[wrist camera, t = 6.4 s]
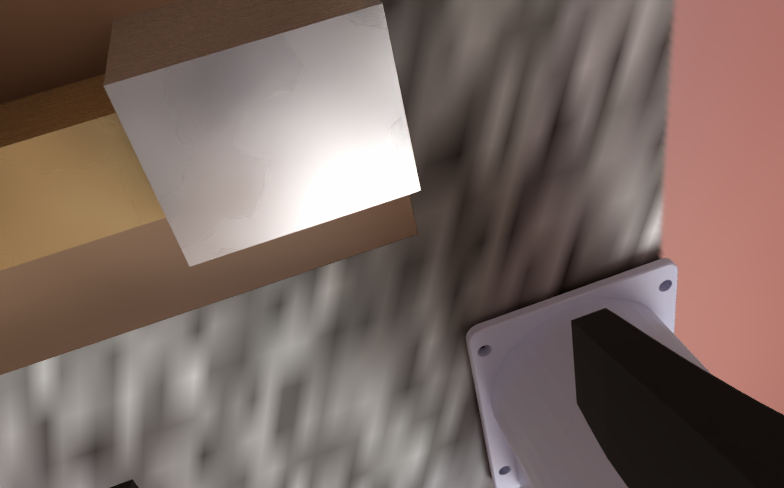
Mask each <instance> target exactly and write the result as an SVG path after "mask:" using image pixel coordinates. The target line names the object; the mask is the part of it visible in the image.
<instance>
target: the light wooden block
mask: <svg viewBox="0 0 784 488" xmlns="http://www.w3.org/2000/svg"><path fill="white" fill-rule="evenodd" d="M104 79H105V74H102V75H99V76H96V77H92V78H89V79H85V80H82V81H79V82H75V83H72V84H68V85H65V86H62V87H58V88H55V89H51V90H48V91H45V92H41V93H38V94H34V95H31V96H28V97H24V98H21V99H17V100H14V101H11V102H7V103H4V104H0V271H1V270H4V269H7V268H10V267H13V266H16V265H20V264H23V263H26V262H29V261H32V260H35V259H38V258H41V257H45V256H48V255H51V254H54V253H57V252H60V251H63V250H66V249H70V248H73V247H76V246H79V245H82V244H85V243H88V242H91V241H94V240H98V239H101V238H104V237H107V236H110V235H113V234H116V233H119V232H123V231H126V230H129V229H132V228H135V227H138V226H141V225H144V224H147V223H151V222H154V221H157V220H160V219H163V218H166V216H165V214H164V212H163V210H162V208H161V206H160V204H159V201H158V199H157V197H156V195H155V193H154V191H153V189H152V187H151V185H150V183H149V180H148V178H147V176H146V174H145V172H144V170H143V168H142V166H141V164H140V162H139V159H138V157H137V155H136V153H135V151H134V149H133V147H132V145H131V143H130V141H129V138H128V136H127V134H126V132H125V130H124V128H123V126H122V124H121V122H120V120H119V117H118V115H117V113H116V111H115V109H114V107H113V105H112V103H111V101H110V99H109V96H108V94H107V92H106V90H105V88H104Z"/></svg>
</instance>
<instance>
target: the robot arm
mask: <svg viewBox="0 0 784 488" xmlns="http://www.w3.org/2000/svg"><path fill="white" fill-rule="evenodd" d="M677 276H678V268H677V266H676V265H675V264H674V263H673V262H672V261H671V260H670V259H668V258H663V259H659V260H656V261H654V262H651V263H648V264H645V265H642V266H639V267H637V268H634V269H631V270H628V271H625V272H623V273H620V274H617V275H614V276H611V277H609V278H606V279H603V280H600V281H597V282H595V283H592V284H589V285H586V286H583V287H581V288H578V289H575V290H572V291H569V292H566V293H564V294H561V295H558V296H555V297H552V298H550V299H547V300H544V301H541V302H538V303H536V304H533V305H530V306H527V307H524V308H522V309H519V310H516V311H513V312H510V313H507V314H505V315H502V316H499V317H496V318H493V319H491V320H488V321H485V322H482V323H479V324H477V325H475V326H473V327H472V328H471V329H470V330H469V331H468V332H467V334H466V343H467V348H468V354H469V359H470V364H471V370H472V375H473V380H474V386H475V391H476V396H477V402H478V407H479V412H480V417H481V423H482V428H483V433H484V439H485V444H486V449H487V455H488V460H489V465H490V471H491V476H492V481H493V484H494V486H495V488H518V487H520V486H521V488H784V415H783V414H781V413H779V412H777V411H775V410H773V409H771V408H769V407H768V406H766V405H764V404H762V403H760V402H758V401H756V400H755V399H753V398H751V397H749V396H748V395H746V394H744V393H742V392H741V391H739V390H737V389H735V388H734V387H732V386H730V385H728V384H727V383H725V382H724V381H722V380H720V379H718V378H717V377H715V376H713V375H712V374H711V373H710V372H709V371H708V370H707V369H706V368H705V367H704V366H703V365H702V364H701V363H700V361H699V360H698V359H697V358H696V357H695V356H694V355H693V354H692V353H691V352H690V351H689V350H688V349H687V348H686V346H685V345H683V343H682V342H681V341H680V340H679V339H678V338H677V337H676V336H675V335H674V326H675V309H676V292H677ZM663 281H664V282H663ZM662 282H663V283H662ZM485 345H486V346H485ZM482 346H485V347H484V348H482V349H480V348H481V347H482ZM110 488H138V486H137V485H136V484H135V482H134V481H133V479H132V480H130V481H127V482H124V483H121V484H119V485H116V486H113V487H110Z"/></svg>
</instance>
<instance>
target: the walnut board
mask: <svg viewBox="0 0 784 488" xmlns="http://www.w3.org/2000/svg"><path fill="white" fill-rule="evenodd" d="M177 1H181V0H0V104H4V103H7V102H11V101H14V100H17V99H21V98H24V97H28V96H31V95H34V94H38V93H41V92H45V91H48V90H51V89H55V88H58V87H62V86H65V85H68V84H72V83H75V82H79V81H82V80H85V79H89V78H92V77H96V76H99V75H102V74H105V72H106V66H107V59H108V52H109V45H110V39H111V32H112V25H113V20H114V19H118V18H121V17H125V16H128V15H132V14H135V13H139V12H142V11H146V10H149V9H153V8H156V7H160V6H163V5H167V4H170V3H174V2H177ZM417 234H418V232H417V227H416V223H415V218H414V213H413V209H412V204H411V200H410V195H406V196H403V197H400V198H397V199H394V200H391V201H388V202H385V203H382V204H379V205H375V206H372V207H369V208H366V209H363V210H360V211H357V212H354V213H351V214H348V215H345V216H342V217H339V218H336V219H333V220H330V221H327V222H324V223H321V224H318V225H315V226H312V227H309V228H306V229H303V230H300V231H297V232H294V233H291V234H288V235H285V236H282V237H278V238H275V239H272V240H269V241H266V242H263V243H260V244H257V245H254V246H251V247H248V248H245V249H242V250H239V251H236V252H233V253H230V254H227V255H224V256H221V257H218V258H215V259H212V260H209V261H206V262H203V263H200V264H197V265H194V266H191V267H189V264H188V262H187V260H186V258H185V256H184V254H183V252H182V250H181V248H180V246H179V243H178V241H177V239H176V237H175V235H174V233H173V231H172V229H171V227H170V225H169V222H168V220H167V218H163V219H160V220H157V221H154V222H151V223H147V224H144V225H141V226H138V227H135V228H132V229H129V230H126V231H123V232H119V233H116V234H113V235H110V236H107V237H104V238H101V239H98V240H94V241H91V242H88V243H85V244H82V245H79V246H76V247H73V248H70V249H66V250H63V251H60V252H57V253H54V254H51V255H48V256H45V257H41V258H38V259H35V260H32V261H29V262H26V263H23V264H20V265H16V266H13V267H10V268H7V269H4V270H1V271H0V375H1V374H4V373H7V372H10V371H13V370H16V369H19V368H22V367H25V366H28V365H31V364H34V363H37V362H40V361H43V360H46V359H49V358H52V357H55V356H58V355H61V354H64V353H67V352H70V351H73V350H76V349H79V348H82V347H85V346H87V345H90V344H93V343H96V342H99V341H102V340H105V339H108V338H111V337H114V336H117V335H120V334H123V333H126V332H129V331H132V330H135V329H138V328H141V327H144V326H147V325H150V324H153V323H156V322H159V321H162V320H165V319H168V318H171V317H174V316H176V315H179V314H182V313H185V312H188V311H191V310H194V309H197V308H200V307H203V306H206V305H209V304H212V303H215V302H218V301H221V300H224V299H227V298H230V297H233V296H236V295H239V294H242V293H245V292H248V291H251V290H254V289H257V288H260V287H263V286H265V285H268V284H271V283H274V282H277V281H280V280H283V279H286V278H289V277H292V276H295V275H298V274H301V273H304V272H307V271H310V270H313V269H316V268H319V267H322V266H325V265H328V264H331V263H334V262H337V261H340V260H343V259H346V258H349V257H352V256H354V255H357V254H360V253H363V252H366V251H369V250H372V249H375V248H378V247H381V246H384V245H387V244H390V243H393V242H396V241H399V240H402V239H405V238H408V237H411V236H414V235H417Z"/></svg>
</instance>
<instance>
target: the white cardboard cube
mask: <svg viewBox="0 0 784 488" xmlns="http://www.w3.org/2000/svg"><path fill="white" fill-rule="evenodd" d="M104 88H105V90H106V92H107V94H108V96H109V99H110V101H111V103H112V105H113V107H114V109H115V111H116V113H117V115H118V117H119V120H120V122H121V124H122V126H123V128H124V130H125V132H126V134H127V136H128V138H129V141H130V143H131V145H132V147H133V149H134V151H135V153H136V155H137V157H138V159H139V162H140V164H141V166H142V168H143V170H144V172H145V174H146V176H147V178H148V180H149V183H150V185H151V187H152V189H153V191H154V193H155V195H156V197H157V199H158V201H159V204H160V206H161V208H162V210H163V212H164V214H165V216H166V218H167V220H168V222H169V225H170V227H171V229H172V231H173V233H174V235H175V237H176V239H177V241H178V243H179V246H180V248H181V250H182V252H183V254H184V256H185V258H186V260H187V262H188V264H189V267H191V266H194V265H197V264H200V263H203V262H206V261H209V260H212V259H215V258H218V257H221V256H224V255H227V254H230V253H233V252H236V251H239V250H242V249H245V248H248V247H251V246H254V245H257V244H260V243H263V242H266V241H269V240H272V239H275V238H278V237H282V236H285V235H288V234H291V233H294V232H297V231H300V230H303V229H306V228H309V227H312V226H315V225H318V224H321V223H324V222H327V221H330V220H333V219H336V218H339V217H342V216H345V215H348V214H351V213H354V212H357V211H360V210H363V209H366V208H369V207H372V206H375V205H379V204H382V203H385V202H388V201H391V200H394V199H397V198H400V197H403V196H406V195H409V194H412V193H415V192H418V191H421V189H420V184H419V179H418V174H417V169H416V164H415V159H414V154H413V150H412V145H411V140H410V135H409V130H408V125H407V120H406V115H405V111H404V106H403V101H402V96H401V91H400V86H399V81H398V76H397V72H396V67H395V62H394V57H393V52H392V47H391V42H390V37H389V33H388V28H387V23H386V18H385V13H384V8H383V3H382V2H381V1H380V0H181V1H177V2H174V3H170V4H167V5H163V6H160V7H156V8H153V9H149V10H146V11H142V12H139V13H135V14H132V15H128V16H125V17H121V18H118V19H114V20H113V25H112V32H111V39H110V45H109V52H108V59H107V66H106V72H105V79H104Z"/></svg>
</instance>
